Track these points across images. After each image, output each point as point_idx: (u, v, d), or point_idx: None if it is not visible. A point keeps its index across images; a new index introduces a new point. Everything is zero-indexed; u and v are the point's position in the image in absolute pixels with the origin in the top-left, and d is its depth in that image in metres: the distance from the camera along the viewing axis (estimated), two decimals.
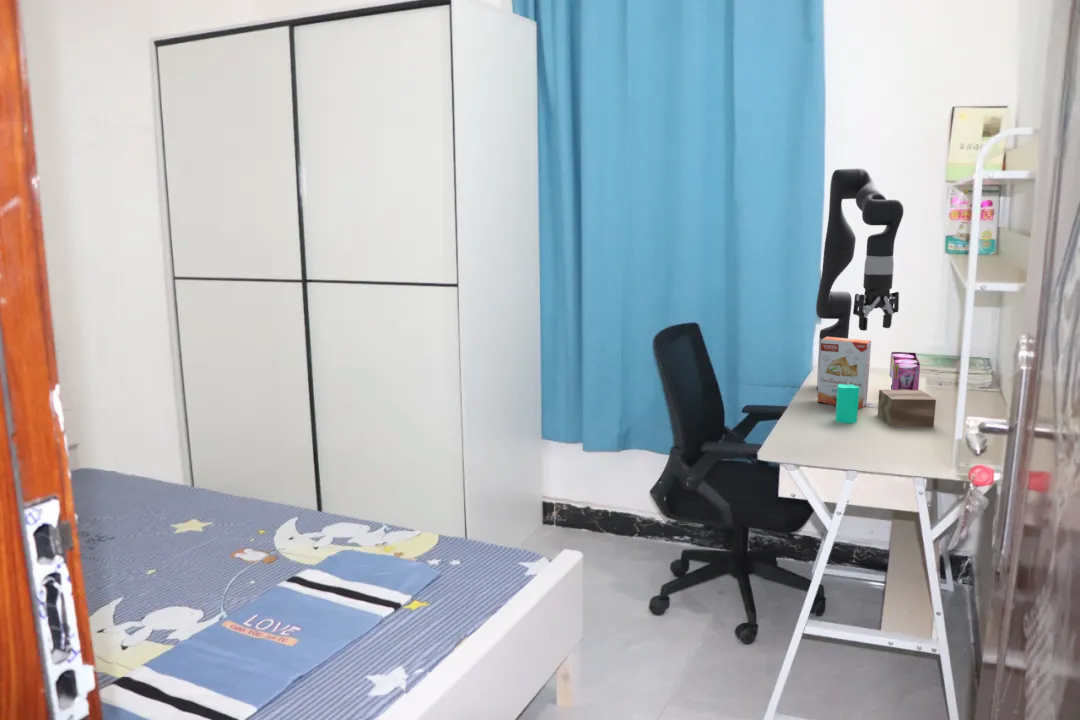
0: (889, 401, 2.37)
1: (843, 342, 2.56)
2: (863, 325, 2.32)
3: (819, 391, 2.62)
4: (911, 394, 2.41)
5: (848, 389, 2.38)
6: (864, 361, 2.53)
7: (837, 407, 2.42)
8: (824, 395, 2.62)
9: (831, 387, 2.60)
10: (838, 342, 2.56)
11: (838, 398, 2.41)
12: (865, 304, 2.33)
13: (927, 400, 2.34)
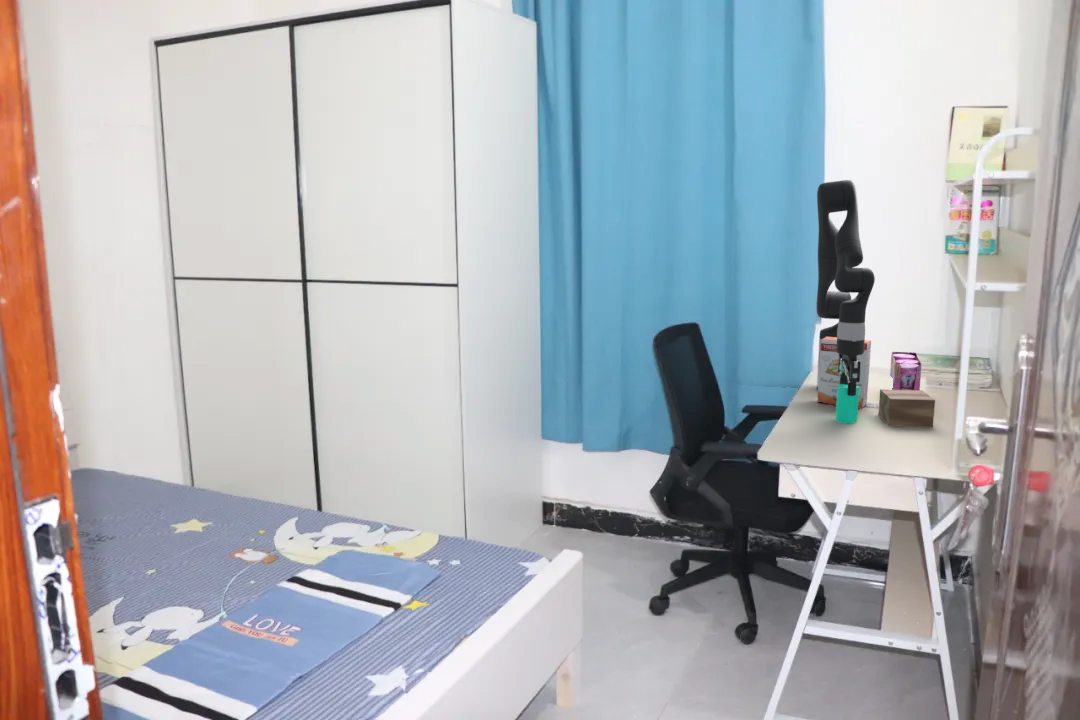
0: (888, 401, 2.37)
1: None
2: (854, 390, 2.36)
3: (819, 391, 2.62)
4: (911, 394, 2.41)
5: None
6: (864, 361, 2.53)
7: (837, 407, 2.42)
8: (824, 395, 2.62)
9: (831, 387, 2.60)
10: None
11: (838, 398, 2.41)
12: None
13: (926, 400, 2.34)
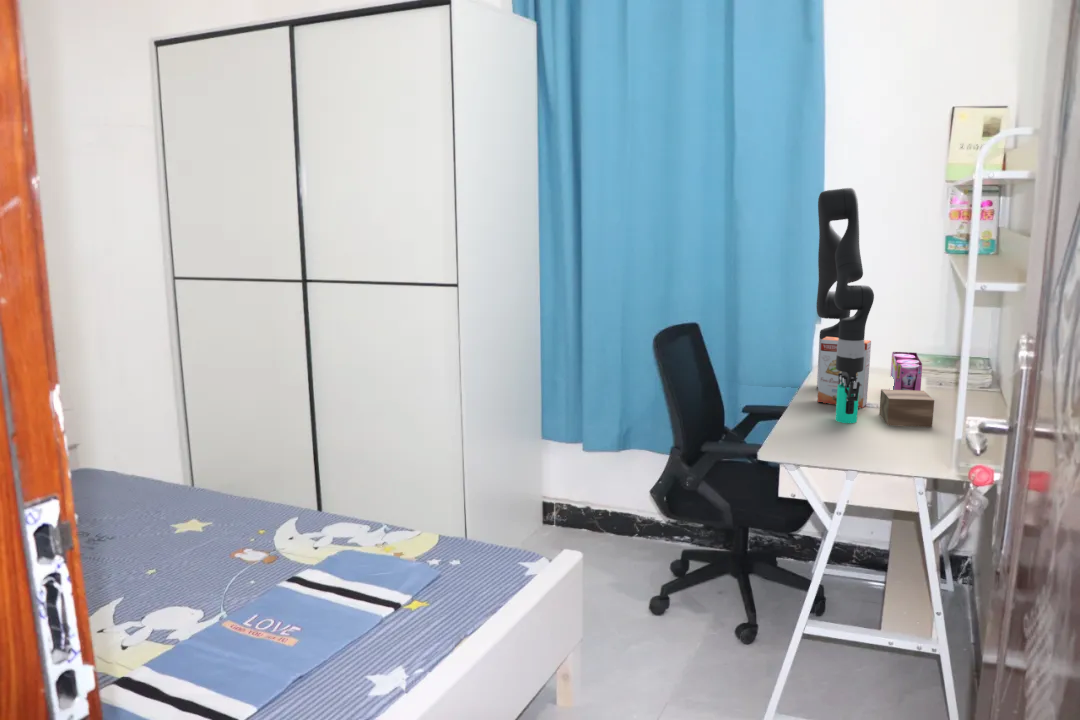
0: (887, 400, 2.38)
1: None
2: (852, 409, 2.38)
3: (819, 391, 2.62)
4: (911, 394, 2.41)
5: (848, 389, 2.38)
6: (864, 361, 2.53)
7: (837, 407, 2.42)
8: (824, 395, 2.62)
9: (831, 387, 2.60)
10: None
11: (838, 398, 2.41)
12: None
13: (925, 400, 2.34)
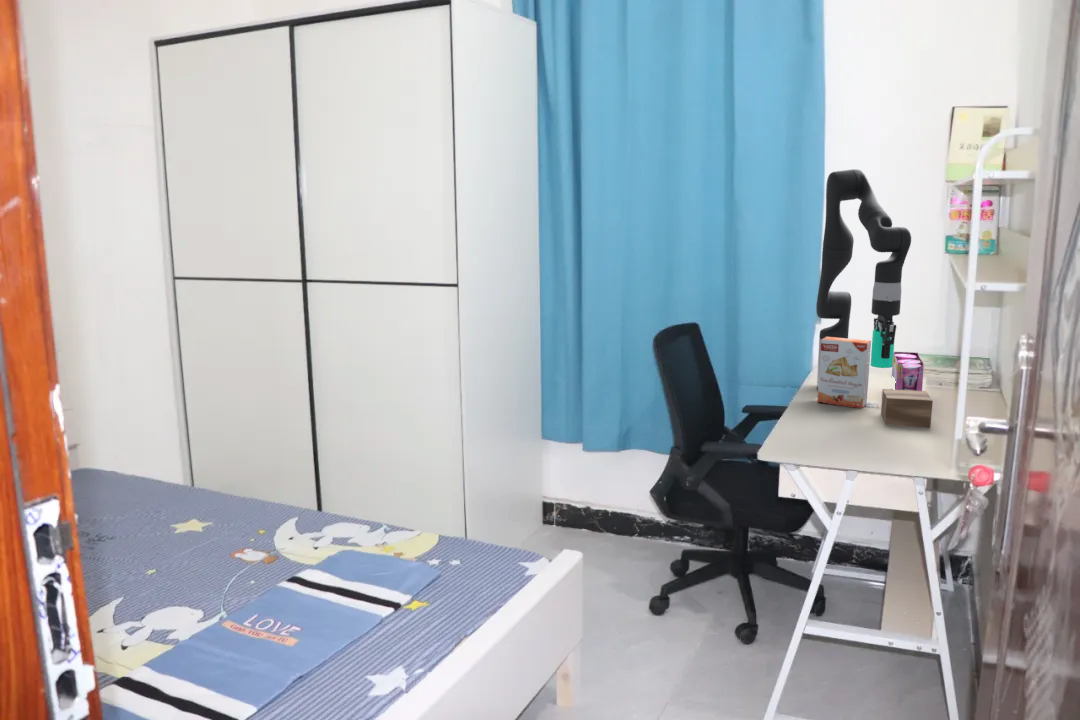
0: (886, 400, 2.38)
1: (843, 342, 2.56)
2: (888, 353, 2.35)
3: (819, 391, 2.62)
4: (911, 394, 2.40)
5: (884, 333, 2.35)
6: (864, 361, 2.53)
7: (872, 352, 2.38)
8: (824, 395, 2.62)
9: (831, 387, 2.60)
10: (838, 342, 2.56)
11: (873, 343, 2.37)
12: None
13: (923, 400, 2.34)
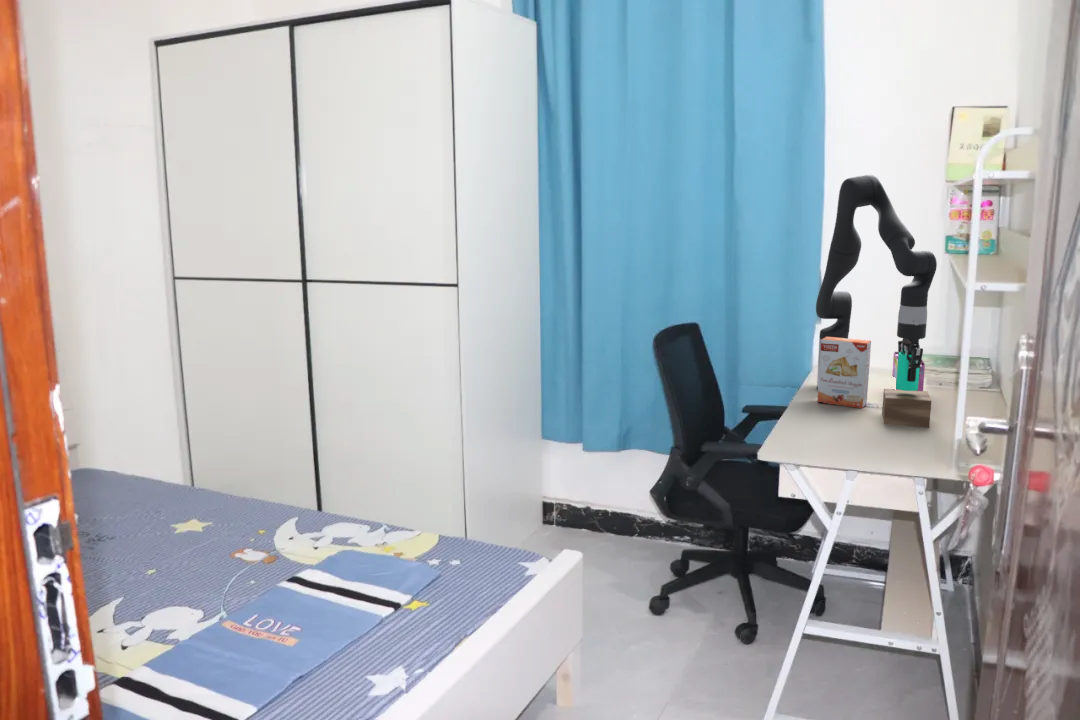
0: None
1: (843, 342, 2.56)
2: None
3: (819, 391, 2.62)
4: (911, 394, 2.40)
5: (910, 356, 2.36)
6: (864, 361, 2.53)
7: (898, 375, 2.39)
8: (824, 395, 2.62)
9: (831, 387, 2.60)
10: (838, 342, 2.56)
11: (899, 365, 2.38)
12: None
13: (922, 401, 2.34)
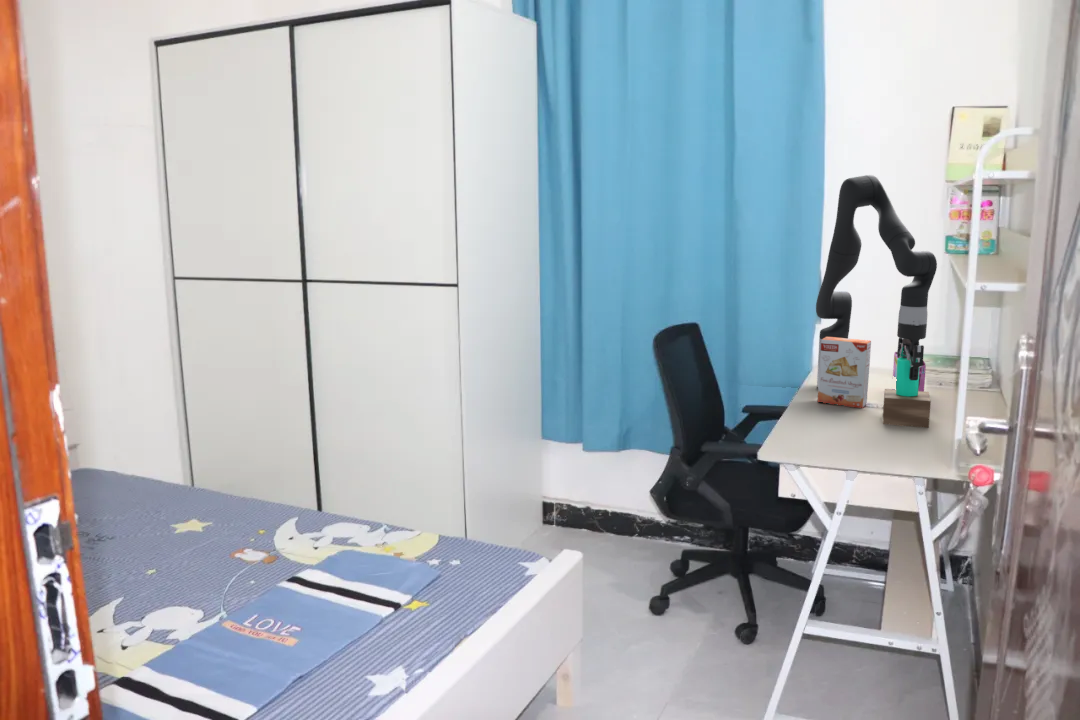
0: (884, 400, 2.39)
1: (843, 342, 2.56)
2: None
3: (819, 391, 2.62)
4: None
5: None
6: (864, 361, 2.53)
7: (897, 380, 2.40)
8: (824, 395, 2.62)
9: (831, 387, 2.60)
10: (838, 342, 2.56)
11: (898, 371, 2.39)
12: None
13: (921, 401, 2.34)
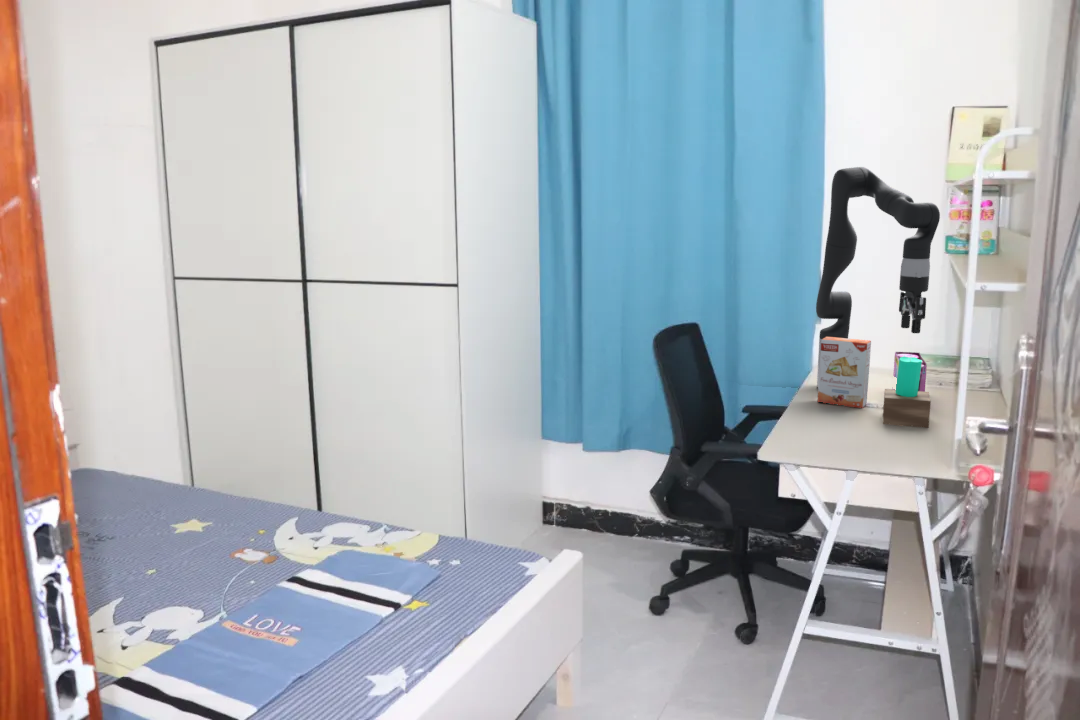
0: (884, 400, 2.39)
1: (843, 342, 2.56)
2: None
3: (819, 391, 2.62)
4: None
5: (910, 363, 2.35)
6: (864, 361, 2.53)
7: (898, 380, 2.39)
8: (824, 395, 2.62)
9: (831, 387, 2.60)
10: (838, 342, 2.56)
11: (899, 371, 2.38)
12: None
13: (921, 401, 2.34)
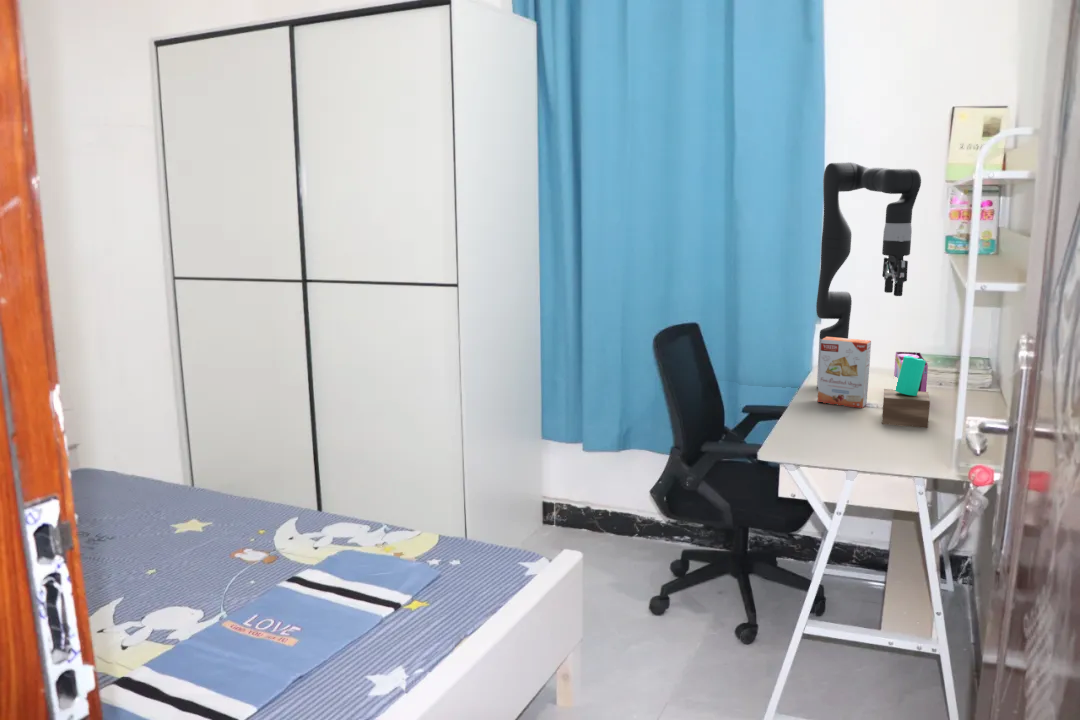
0: None
1: (843, 342, 2.56)
2: None
3: (819, 391, 2.62)
4: (911, 395, 2.40)
5: (911, 359, 2.37)
6: (864, 361, 2.53)
7: (899, 377, 2.41)
8: (824, 395, 2.62)
9: (831, 387, 2.60)
10: (838, 342, 2.56)
11: (901, 368, 2.40)
12: None
13: (921, 401, 2.34)
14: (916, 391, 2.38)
